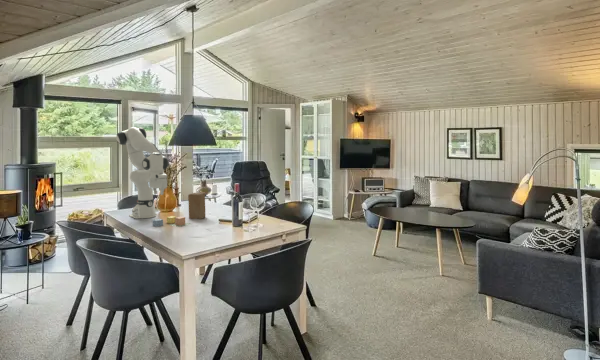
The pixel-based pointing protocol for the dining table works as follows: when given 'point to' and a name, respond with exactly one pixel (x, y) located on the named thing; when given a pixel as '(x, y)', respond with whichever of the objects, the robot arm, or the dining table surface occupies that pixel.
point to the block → (196, 205)
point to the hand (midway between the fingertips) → (158, 194)
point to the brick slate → (157, 222)
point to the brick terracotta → (180, 221)
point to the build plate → (180, 225)
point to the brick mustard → (171, 219)
